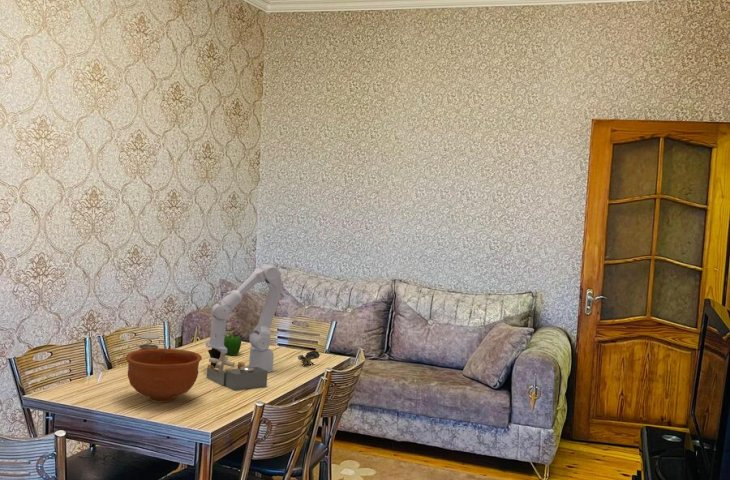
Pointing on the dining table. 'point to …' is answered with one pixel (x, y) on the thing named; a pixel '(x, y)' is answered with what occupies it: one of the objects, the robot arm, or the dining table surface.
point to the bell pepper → (232, 344)
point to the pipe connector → (221, 362)
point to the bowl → (162, 372)
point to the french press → (150, 337)
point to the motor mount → (239, 377)
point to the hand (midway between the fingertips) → (214, 367)
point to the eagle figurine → (309, 357)
